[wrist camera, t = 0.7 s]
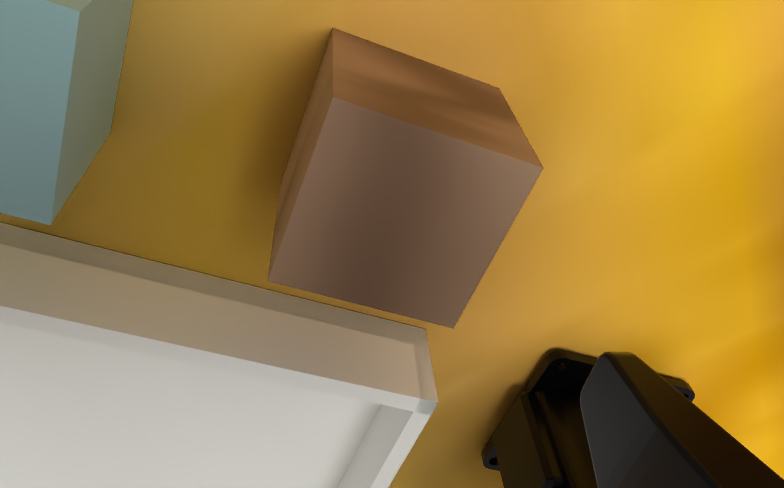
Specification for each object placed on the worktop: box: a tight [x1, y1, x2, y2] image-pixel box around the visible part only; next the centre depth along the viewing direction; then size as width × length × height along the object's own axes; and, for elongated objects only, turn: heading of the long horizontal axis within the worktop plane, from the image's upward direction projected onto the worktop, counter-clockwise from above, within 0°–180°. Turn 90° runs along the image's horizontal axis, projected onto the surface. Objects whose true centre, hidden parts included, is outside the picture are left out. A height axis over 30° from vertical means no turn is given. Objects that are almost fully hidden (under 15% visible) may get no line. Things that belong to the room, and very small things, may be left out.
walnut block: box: [268, 28, 543, 328], centre depth 18 cm, size 5×5×5 cm
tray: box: [0, 223, 438, 488], centre depth 24 cm, size 18×13×4 cm
